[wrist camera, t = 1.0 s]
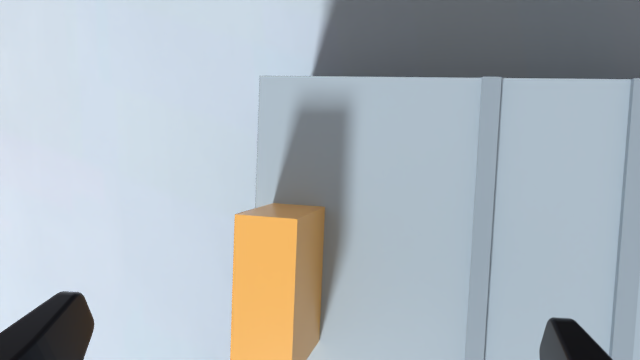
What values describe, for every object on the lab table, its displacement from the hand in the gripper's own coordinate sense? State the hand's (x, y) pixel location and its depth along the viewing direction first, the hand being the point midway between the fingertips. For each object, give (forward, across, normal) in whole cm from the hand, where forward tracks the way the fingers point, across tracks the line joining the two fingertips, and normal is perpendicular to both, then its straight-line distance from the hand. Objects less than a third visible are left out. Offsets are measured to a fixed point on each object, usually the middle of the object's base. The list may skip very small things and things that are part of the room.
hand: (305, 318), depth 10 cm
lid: (+7, -5, +6) cm, 10 cm away
